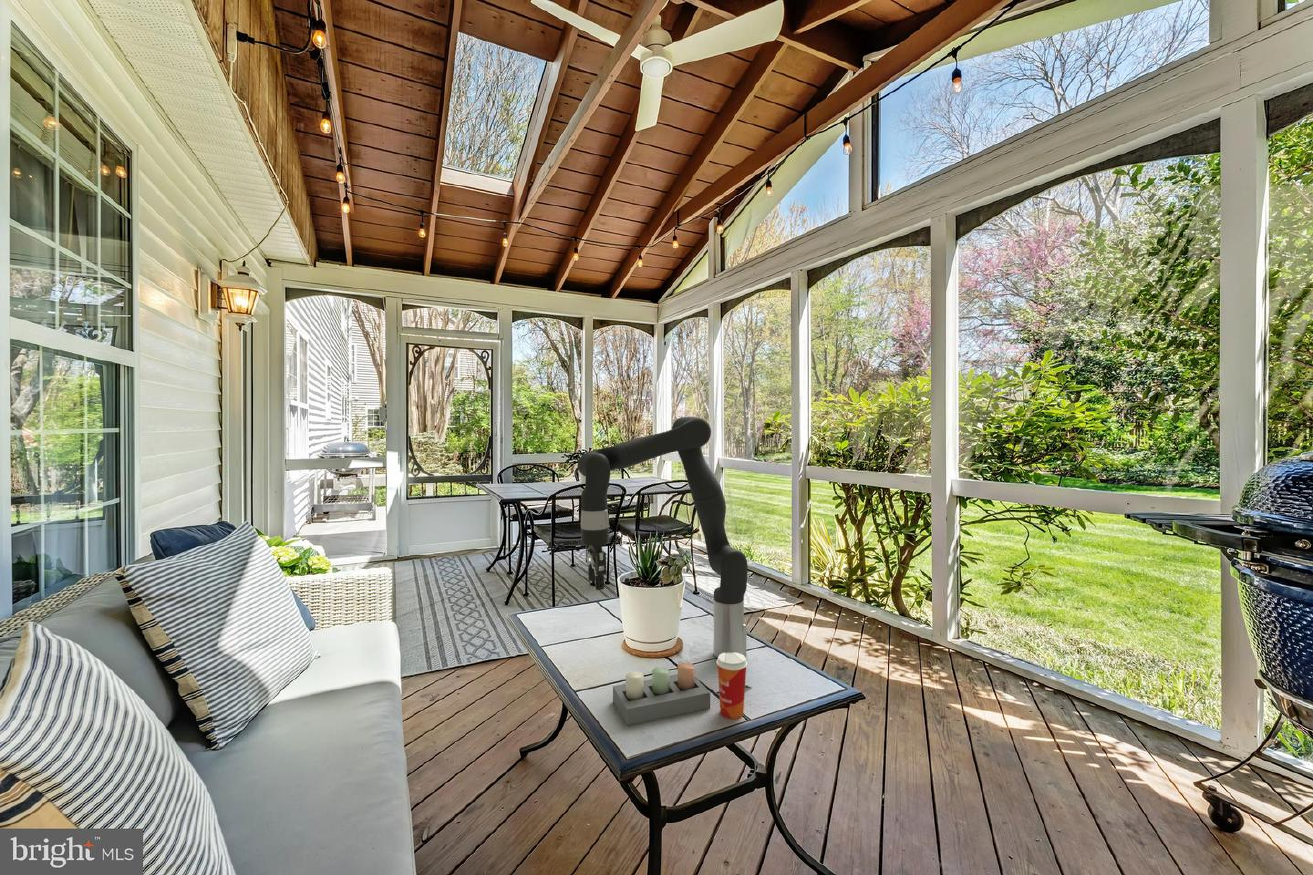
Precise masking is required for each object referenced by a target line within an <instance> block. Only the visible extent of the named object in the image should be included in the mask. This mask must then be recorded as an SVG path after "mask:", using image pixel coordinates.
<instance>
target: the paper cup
mask: <svg viewBox="0 0 1313 875" xmlns="http://www.w3.org/2000/svg"><path fill="white" fill-rule="evenodd" d="M716 665H717V674H718V676H717V677H718V691H719V694H718V696H719V697H718V698H719V707H720V708H719V709H720V715H721V716H722V717H724V718H726V719H731V720H736V719H740V718H742V717H743V715H744V708H745V706H744V705H745V694H746V692H745V685H746V676H747V667H748V661H747V659H746V656H744V655H742V654H740V653H736V652H733V653H732V652H727V653H722V654H720V655H719V656H718V658H717V659H716Z"/></svg>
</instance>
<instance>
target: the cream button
mask: <svg viewBox="0 0 1313 875" xmlns="http://www.w3.org/2000/svg"><path fill="white" fill-rule="evenodd" d="M625 684H626V697H627V698H629V699H632V700H637V699H640V698H642V697H643V696H644V673H642V672H640V671H630V672H627V673H626V674H625Z"/></svg>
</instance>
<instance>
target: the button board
mask: <svg viewBox="0 0 1313 875" xmlns="http://www.w3.org/2000/svg"><path fill="white" fill-rule="evenodd" d="M612 702H613V704H614V706H615V707H616V709H617V711H618V713H619V715H620V716H621V718H622V719H623V721H624V723H625V725H626V726H627V727H628V726H632V725H638V724H642V723H646V722H647V723H648V722H652V721H655V720H660V719H665V718H670V717H675V716H680V715H685V714H689V713H693V712H694V713H695V712H698V711H703V710H707V709H708V710H709V709H711V692H710V691H709V690H708V689H707V688H706V687H705V685H703V683H702V682H701V681H700V680H699V679H698V678H697V677H696V676H695V686H694V688H692V689H688V690H685V689H681V688H679V687H678V673H677V674H673V675H670V691H669V692H668V693H666V694H662V695H660V694H655V693H654V692H653V691H652V678H651V679H645V680H644V696H643V697H642V698H640V699H637V700H632V699H629V698H627V697H626V683H625V684H624V683H623V684H619V685H618V684H617V685H613V686H612Z"/></svg>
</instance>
